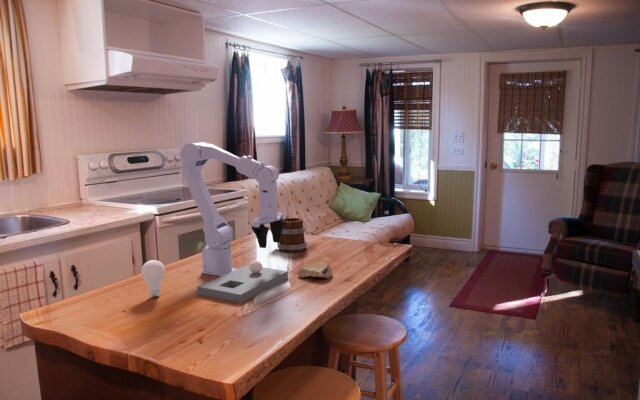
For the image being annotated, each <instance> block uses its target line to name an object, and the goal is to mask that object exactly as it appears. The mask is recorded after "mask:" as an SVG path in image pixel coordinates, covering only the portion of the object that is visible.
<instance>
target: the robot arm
mask: <svg viewBox="0 0 640 400" xmlns="http://www.w3.org/2000/svg"><path fill="white" fill-rule="evenodd" d="M179 156H180V159H181V172H182V177H183V178H184V181H185V183H186V185H187V188H188V189H189V192H190V194H191V196H192V198H193V200H194V203H195V205H196V207H197V208H198V211H199V214H200V215H201V218H202V220H203V222H204V224H203V227H202V231H203V234H204V241H205V243H206V246H204V247H203V250H202V253H201V258H202V260H201V261H202V262H201V263H202V271H201V274H205V275H212V276H217V277H220V276H223V275H225V274H228V273H230V272H232V271H235V270H237V269H238V268H235V267H233V260H232V259H233V258H232V256H233V255H232V243H231V241H232V240H233V238H234V236H235V235H234V234H235V233H234V232H235V231H234V230H233V228H232V226H231V225H229V224H228V222H227V220H226V219H225V218H224V217H223V216H221V215H220V213H219V211H218V209H217V207H216V204H215V203H214V199H213V198H212V196H211V193H210V191H209V189H208V186H207V184H206V183H205V180H204V178H203V175H202V174H201V172H202V170H203V167H204V165H205V164H206V163H207V162H208V161H209V160H211V159H213V160H216V161H219V162H221V163H223V164H224V163H225V164H227V165H230V166H233V167H235V170H236V171H237V173H239V174H241V175H244V176H246V177H248V178H251V179H252V180H256V182H257V183H258V202H259V217H257V218H256V219H254V220H252V225H251V230H252V231H253V233H254V235H255V238H256V239H257V242H258V246H259V248H261V249H266V248H267V242H268V233H269V230H271V229H272V233H271V236H272V241H273V243H279V242H280V238H281V234H282V230H283V228H284V226H285V224H286V221H285V220H282V219H284V218H285V213H284V212H278V211H279V210H278V186H277V185H278V183H277V181H278V179H279V177H280V172H279V169H278V168H277V167H276V166H274V164H266V162H265V161H259V160H256V159H254V158H253V156H252V155H247V156H246V155H243V156H241V157H239V156H238V155H235V154H233V153H232V152H230V151H227V150H224V149H223V148H221V147H218V146H217V145H215V144H213V143H209V142H206V141H200V142H199V141H198V142H188V143H186V144H184V145H183V147H182V148H181V151H180V154H179ZM267 224H269V226H266V225H267ZM270 226H271V229H270Z"/></svg>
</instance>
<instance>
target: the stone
mask: <svg viewBox="0 0 640 400" xmlns="http://www.w3.org/2000/svg"><path fill="white" fill-rule="evenodd" d="M332 276H333V269H332V267H331V266H330V264H328V263H327V262H323V261H318V262H313V263H311V264H309V265H308V266H305V267H302V268H300V269H299V270H298V271H297V277H299V278H302V279H304V278H308V277H313V278H316V277H317V278H322V279H323V278H324V279H329V278H331V277H332Z"/></svg>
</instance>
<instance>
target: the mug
mask: <svg viewBox="0 0 640 400" xmlns="http://www.w3.org/2000/svg"><path fill="white" fill-rule="evenodd" d="M282 220H285V221H286V224H285V226H284V228H283V230H282V234H281V238H280V242H279V243H277V242H276V243H277V248H278V251H279V252H282V253H285V254H287V253H288V254H293V253H295V254H297V253H301V252H304V251H305V250H306V249H307V245H308V242H307V240H305V239H306V238H305V231H306V228H307V227H306V226H305V225H304V222H303V221H304V220H303V218H300V217H291V218H290V217H284V219H282ZM269 230H270V232H271V234H272V229H271V226H270V225H269Z"/></svg>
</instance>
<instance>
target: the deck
mask: <svg viewBox="0 0 640 400" xmlns="http://www.w3.org/2000/svg"><path fill="white" fill-rule="evenodd" d="M236 269H237V270H235V271H232V272H230V273H228V274H225V275H223V276H217V277H216V278H214V279H212V280H209V281H206V282H205V283H202V284H200V285H197V290H196V291H197V295H199V296H203V297H208V298H211V299H212V298H213V299H219V300H223V301H229V302H232V303H238V304H242V303H245V302H246V301H249V300H250V299H252V298H254V297H256V296H258V295H259V294H261V293H263V292H265V291H267V290H269V289H271V288H273V287H276V285H279V284H281V283H282V282H284V281H287V280H288V279H289V272H288V270H282V269H278V268H277V269H276V268H269V267H264V266H262V270H261V271H260V272H259V273H253V272H251V271H250V264H246V265H244V266H241V267H239V268H236Z"/></svg>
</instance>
